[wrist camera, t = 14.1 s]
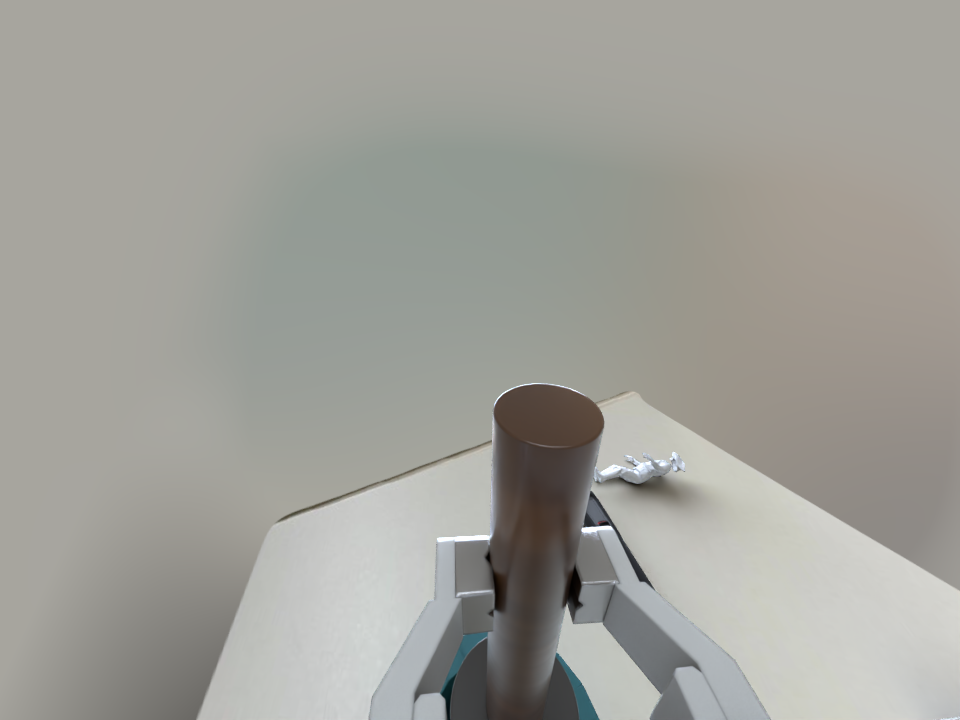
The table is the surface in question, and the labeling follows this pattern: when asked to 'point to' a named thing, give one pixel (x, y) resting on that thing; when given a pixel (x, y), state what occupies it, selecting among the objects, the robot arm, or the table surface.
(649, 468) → the soldier figure
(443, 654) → the robot arm
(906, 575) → the table surface
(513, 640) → the brush
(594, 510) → the electric trimmer
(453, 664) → the cup
